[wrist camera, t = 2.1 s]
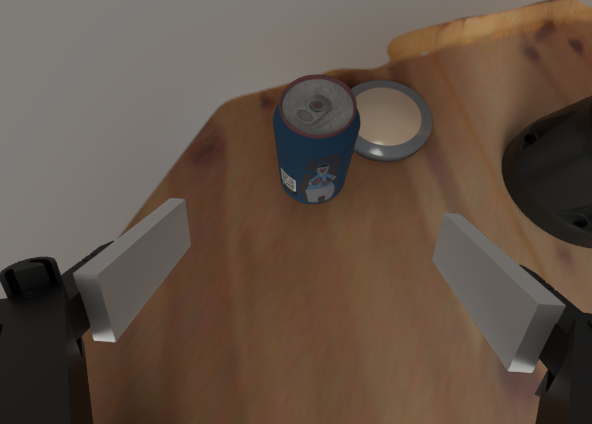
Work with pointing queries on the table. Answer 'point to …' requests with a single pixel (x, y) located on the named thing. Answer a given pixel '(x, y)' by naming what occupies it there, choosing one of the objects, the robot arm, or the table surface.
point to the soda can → (315, 137)
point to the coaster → (390, 120)
